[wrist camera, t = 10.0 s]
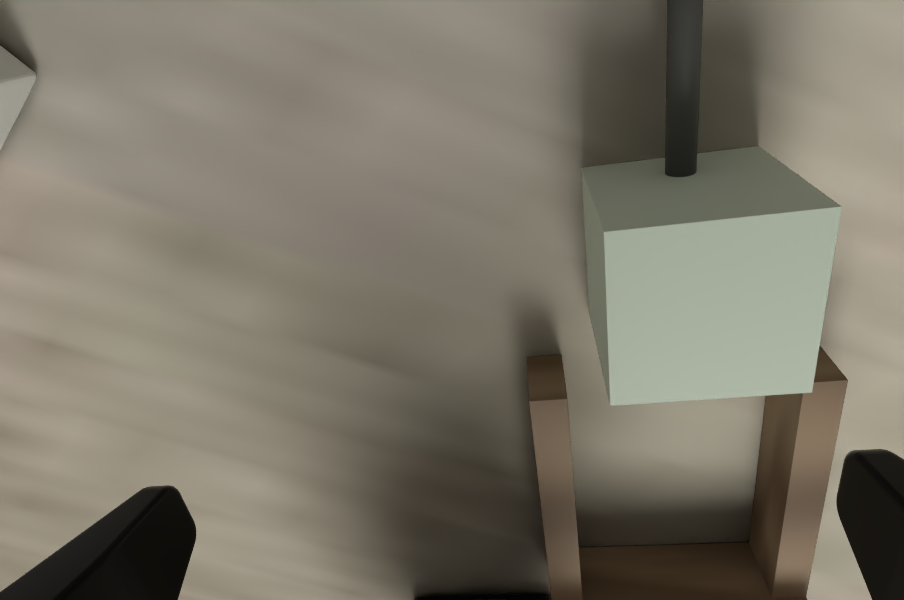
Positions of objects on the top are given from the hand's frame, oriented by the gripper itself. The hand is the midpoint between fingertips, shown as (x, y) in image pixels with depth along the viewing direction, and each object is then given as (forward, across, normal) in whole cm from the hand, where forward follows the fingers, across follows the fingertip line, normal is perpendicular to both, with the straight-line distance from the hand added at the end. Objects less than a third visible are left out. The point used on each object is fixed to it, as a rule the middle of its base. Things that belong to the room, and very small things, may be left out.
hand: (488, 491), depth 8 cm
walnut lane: (+12, -5, +12) cm, 17 cm away
